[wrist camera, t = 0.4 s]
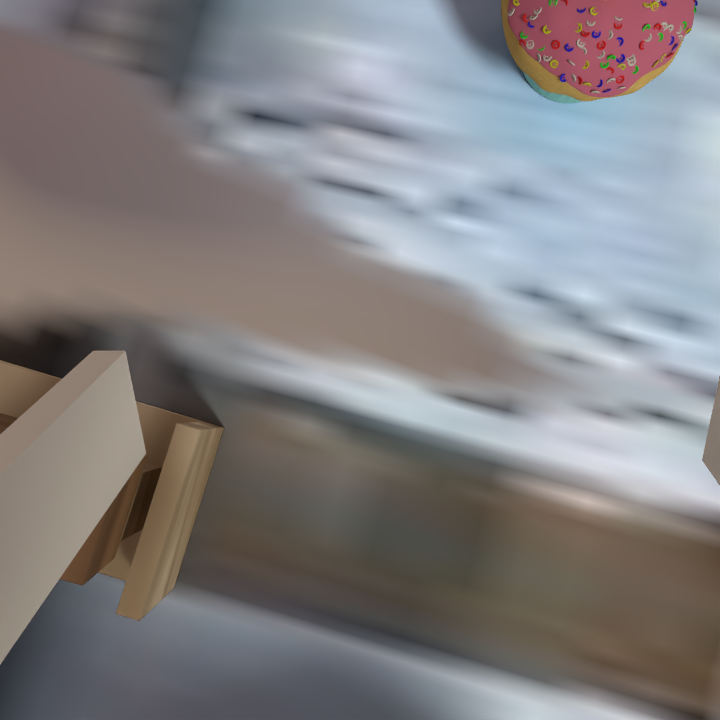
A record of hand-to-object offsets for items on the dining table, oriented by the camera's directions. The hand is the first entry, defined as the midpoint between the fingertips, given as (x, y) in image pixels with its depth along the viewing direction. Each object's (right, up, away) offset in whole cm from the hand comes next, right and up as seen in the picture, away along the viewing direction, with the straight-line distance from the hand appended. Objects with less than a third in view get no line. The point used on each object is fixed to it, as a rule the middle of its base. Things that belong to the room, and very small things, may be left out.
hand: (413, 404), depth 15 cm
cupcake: (+9, +17, +19) cm, 27 cm away
